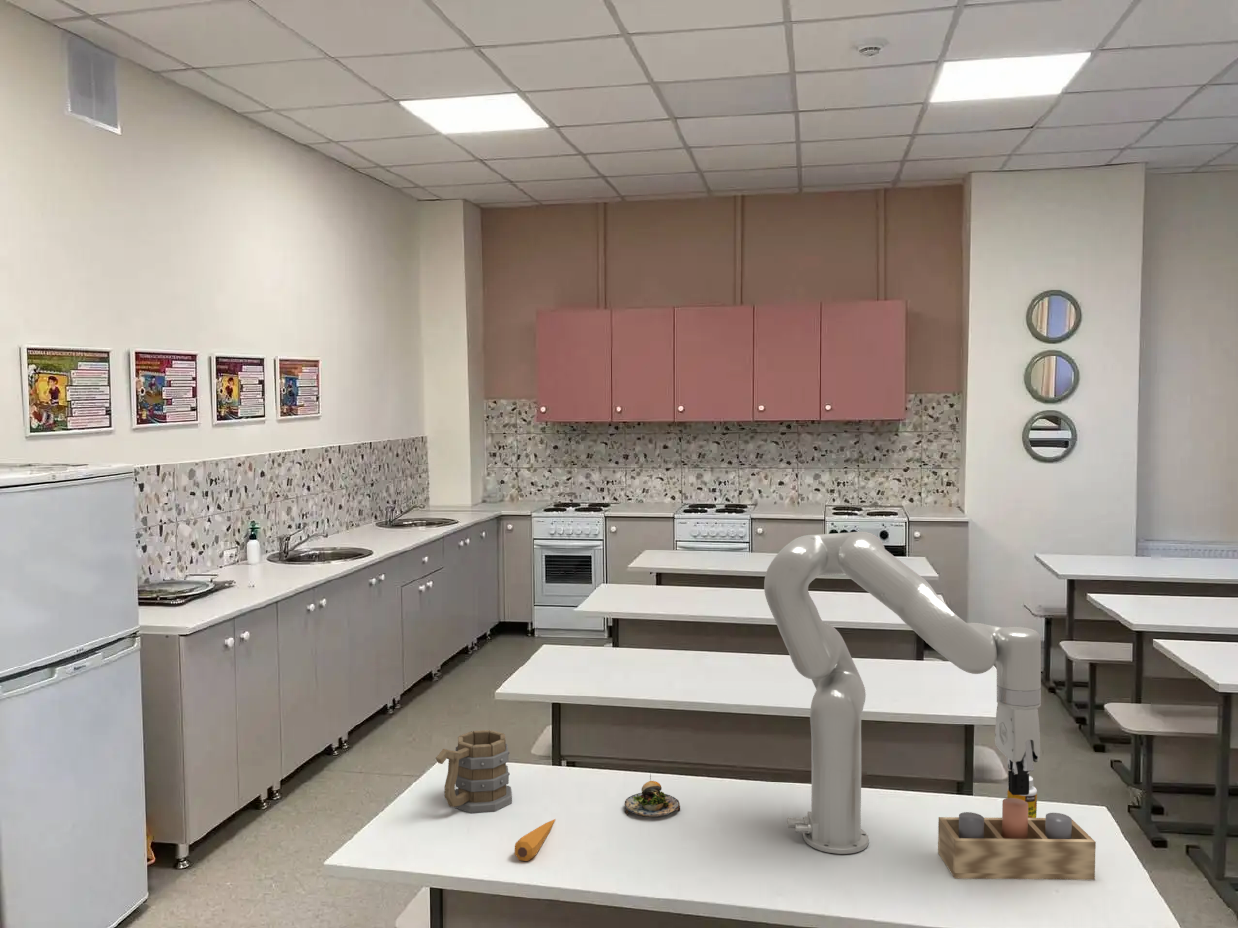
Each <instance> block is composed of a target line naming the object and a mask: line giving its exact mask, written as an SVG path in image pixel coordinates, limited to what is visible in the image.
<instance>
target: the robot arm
mask: <svg viewBox="0 0 1238 928" xmlns="http://www.w3.org/2000/svg"><path fill="white" fill-rule="evenodd" d="M828 575H829V576H830V575H831V576H832V575H834V576H835V575H846V576H847V577H848V578H850V580H852V581H853V582H854V583H856V584H857V585H858V586H860V587H861V588H862V589H863V590H865V591H866V592H867V593H868V594H870V595H871V596H872V597H874V598H875V599H876V600H878V601H879V602H880V603H882V604H883V605H885V606H886V608H888V609H889V610H891V612H893V613H894V614H895V615H896V616H898V617H899V618H900V619H901V621H902V622H903V623H904V624H906V626H908V627H909V628H910V629H911V630H912V631H913V632H915V633H916V635H918V636H919V637H920V639H922V640H923V641H925V643H926V644H928V645H929V646H930V647H931V648H932V649H934V650H935V651H936V652H937V653H938V654H939V655H941V656H942V657H943V658H945V659H946V660H948V661H949V662H950V663H951V664H953V666H956V667H957V668H958V669H960V670H961V671H963V672H966V673H969V674H972V675H979V674H980V675H981V674H984V673H987V672H988V671H989V670H991V669H992V668H993V667H994V665H996V703H997V704H996V713H995V732H994V744H995V747H996V748H997V750H999V751H1000V753H1001V754H1003V755H1004V756H1005V757H1006V758H1007V770H1008V772H1007V774H1008V778H1007V781H1008V782H1007V783H1008V786H1007V791H1008V790H1009V792H1011V794H1012V795H1028V794H1029V776H1030V774H1031V772H1034V770H1035V768H1034V763H1037V762H1039V761H1040V757H1041V733H1040V731H1041V730H1040V718H1039V710H1038V709H1039V708H1041V706H1042V704H1041V703H1042V701H1041V700H1042V697H1041V696H1042V690H1041V688H1042V682H1041V681H1042V673H1041V672H1042V668H1041V667H1042V666H1041V665H1042V663H1041V662H1042V661H1041V659H1042V656H1041V655H1042V646H1041V645H1042V643H1041V641H1042V640H1041V635H1040V633H1039V632H1038V631H1037V630H1035V629H1032V628H1030V627H1025V626H1006V627H1005V626H1004V627H1003V626H998V625H992V624H991V625H990V624H986V623H980V622H966V621H965V620H964V619H962V618H961V617H959V616H958V615H957V614H956V613H954V611H953V610H951V608H949V607H948V606H947V605H946V604H945V602H944V601H942V599H941V598H940V596H938V594H937V593H936V591H935V589H934V588H933V586H931V584H930V583H929V582H928V581H927V580H926V579H925V578H924V577H923V576H921V575H920V574H918V573H917V572H916V571H914V570H913V569H912V568H910V567H909V566H908V565H906V564H905V563H904V562H902V561H901V560H900V559H898V558H897V557H896V556H894V555H893V553H891V552H890V551H888V550H887V549H886V548H885V545H884V543H883V541H882V540H881V539H880V538H879V537H878V536H877V535H875V534H874V533H871V532H867V531H852V532H851V531H850V532H849V531H848V532H838V533H819V534H818V533H817V534H807V535H802V536H799V537H796V538H793V540H791V541H790V542H789V543H787V544H786V545H784V547H782V548H781V550H779V552H778V553H777V554H776V555H775V557H774V558H773V559H772V560H771V562H770V564H769V566H768V568H767V570H766V572H765V576H764V584H763V585H764V586H763V588H764V590H763V591H764V596H765V600H766V602H767V606H768V607H769V610H770V612H771V614H772V617H773V619H774V621H775V624H776V626H777V628H778V631H779V634H780V637H781V638H782V641H783V643H784V645H785V647H786V649H787V651H788V654H789V656H790V659H791V662H792V663H793V666H794V668H795V669H796V670H797V672H798V673H799V674H800V675H801V676H802V677H804V678H806V679H808V680H811V681H812V683H813V686H814V688H815V692H814V694H813V697H812V700H811V704H810V709H809V710H810V712H809V721H810V722H809V723H810V733H811V735H810V736H811V737H810V738H811V793H810V794H811V796H810V797H811V798H810V799H811V804H810V807H811V808H810V811H807V816H804V815H803V816H802V817H801V818H799V817H798V818H797V817H786V825H787V826H786V827H787V828H788V829H794V830H795V833H802V837H803V838H802V839H803V841H804V842H805V843H806V844H807V845H808V846H810V847H812V848H813V849H815V850H818V851H821V852H825V853H829V854H836V855H849V854H855V853H858V852H862V851H864V850H865V849H867V847H868V845H869V843H870V842H869V840H870V838H869V835H868V833H867V832H866V831H865V830H864V829H862V828H861V827H862V826H861V825H862V824H861V823H862V822H861V821H862V813H861V812H862V717H863V710H864V707H865V703H866V695H867V694H866V687H865V685H864V682H863V679H862V677H861V675H860V672H859V671H858V669H857V667H856V664H855V662H854V660H853V658H852V656H851V653H850V651H849V648H848V646H847V644H846V642H845V640H844V638H843V636H842V634H841V633H840V631H838V629H836V628H835V627H834V626H833V625H831V624H829V623H827V622H824V621H823V620H822V617H821V615H820V613H819V610H818V608H817V606H816V604H815V601H814V600H813V598H812V597H811V595H810V591H809V585H810V584H811V583H812V581H814V580H815V579H816V578H817V577H818V576H828Z"/></svg>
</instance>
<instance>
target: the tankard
mask: <svg viewBox="0 0 1238 928" xmlns="http://www.w3.org/2000/svg"><path fill="white" fill-rule="evenodd" d="M509 755H510V751H509V748H508V743H507V742H506V734H505V733H504V732H500V731H496V730H492V729H491V730H490V729H484V730H481V729H480V730H472V731H469V732H465V733H463V734H460V735H459V736H458V737H457V746H455V750H450V749H447V748H442V750H441V751H440V752H439V753H438V754H437V756H436V757H435V761H436V763H438V764H440V765H443V764H444V763H445V761H446V760H448V766H447V773H446V779H445V784H444V799H445V801H446V802H447V804H448V806H449V807H450V808H455V809H458V810H461V811H464V812H466V813H468V814H478V813H488V812H489V813H491V812H493V813H494V812H497V811H499V810H501V809H503V808H505V807H507V806H508V805H511V804H512V803H513V794H512V793H513V792H512V786H510V785H508V784H509V783H510V779H509V776H510V772H509V767H508V765H507V763H508V762H509Z"/></svg>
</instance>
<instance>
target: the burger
mask: <svg viewBox="0 0 1238 928" xmlns="http://www.w3.org/2000/svg"><path fill="white" fill-rule="evenodd" d="M651 777H652V775H651V774H650V775H649V778H650V779H649V781H647V782H645V783H644V784H643V786H642V787H641V792H639V793H636V794H631V795H630V796H628V797H627V798H626V799H625V800H624V807H625V808H624V809H625V811H624V814H625V815H627V816H628V815H629V812H630V813H633V814H634V815H635V814H636V815H637V816H642V817H648V818H649V817H653V818H656V817H662V816H667V815H669V814H670V813H673V812H676V811H678V812H681V805H680V802H679V799H677V798H676V797H675V796H672V795H670V794H668V793H665V792H663V791H662V785H661V784H660V783H659V781H655V780H652V778H651Z"/></svg>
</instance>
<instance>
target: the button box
mask: <svg viewBox="0 0 1238 928" xmlns="http://www.w3.org/2000/svg"><path fill="white" fill-rule="evenodd" d="M1045 823H1046V817H1036V818H1028V839H1004V838H1003V837H1002V817H984V839H977V838H959V816H958V817H957V816H954V817H953V816H951V817H950V816H949V817H947V816H945V817H944V816H941V817H940V816H939V817H938V827H937V829H938V830H937V831H938V832H937V834H938V837H937V854H938V855H939V857H940V858H941V859H942V861H943V863H944V864H945V866H946V867H947V869H948V870H949V872H950V873H951V875H952V877H953V878H954V879H963V880H965V879H969V880H971V879H973V880H977V879H978V880H984V879H986V880H990V879H991V880H1071V881H1072V880H1077V881H1078V880H1085V881H1086V880H1088V881H1089V880H1090V881H1091V880H1093V881H1095V880H1096V847H1097V846H1096V842H1097V841H1095V839H1093V838H1092V837H1091V836H1090V835H1089V834H1088V833H1087V832H1086V831H1085V830H1084V829H1083V828H1082V827H1081V826H1080V825H1079V824H1078V823H1077V822H1076V821H1075V820H1074V819H1072V832H1071V839H1048V838H1047V837H1046V836H1045Z"/></svg>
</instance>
